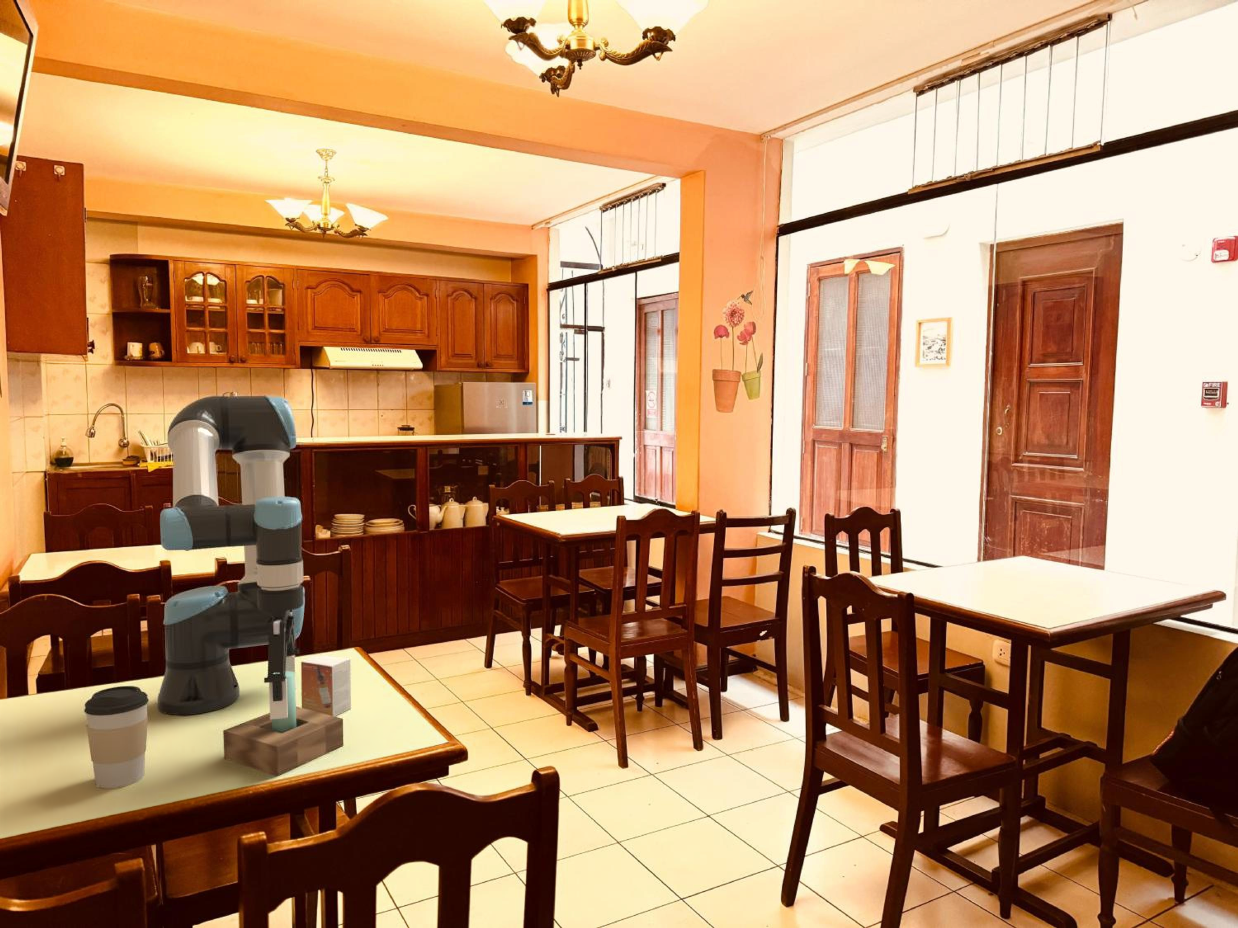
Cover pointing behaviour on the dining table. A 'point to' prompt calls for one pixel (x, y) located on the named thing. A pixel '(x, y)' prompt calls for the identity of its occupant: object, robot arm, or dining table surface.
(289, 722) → the peg
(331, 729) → the socket
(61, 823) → the dining table surface
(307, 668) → the small box
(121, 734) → the coffee cup
